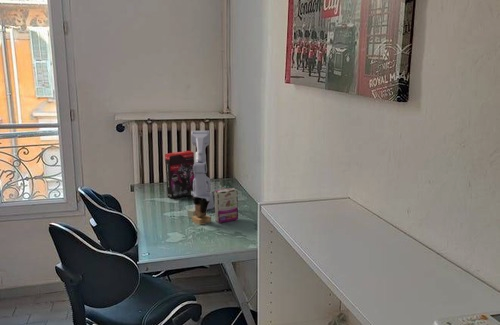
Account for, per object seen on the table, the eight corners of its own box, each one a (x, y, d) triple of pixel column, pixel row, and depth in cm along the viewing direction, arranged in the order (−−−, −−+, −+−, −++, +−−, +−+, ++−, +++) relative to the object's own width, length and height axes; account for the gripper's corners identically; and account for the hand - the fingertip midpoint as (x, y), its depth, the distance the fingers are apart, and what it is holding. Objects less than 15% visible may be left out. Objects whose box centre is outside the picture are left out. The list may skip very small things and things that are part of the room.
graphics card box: (171, 199, 260) (169, 155, 254) (166, 197, 265) (164, 153, 259) (196, 194, 270) (194, 151, 265) (190, 192, 276) (188, 150, 270)
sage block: (192, 215, 232) (192, 208, 232) (198, 216, 230) (198, 209, 229) (187, 217, 229) (187, 210, 228) (193, 218, 227) (193, 211, 226)
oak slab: (203, 219, 227) (203, 213, 227) (211, 222, 222) (210, 217, 222) (192, 221, 223) (191, 216, 222) (199, 225, 218) (199, 219, 217)
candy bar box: (234, 217, 229) (233, 187, 225) (238, 220, 225) (238, 189, 221) (214, 220, 224) (214, 190, 220) (218, 223, 219) (217, 192, 216)
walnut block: (201, 213, 224) (201, 203, 223) (206, 215, 221) (206, 204, 220) (195, 214, 222) (195, 204, 221) (199, 216, 219) (199, 206, 218)
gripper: (185, 184, 221) (186, 209, 224) (202, 190, 211) (203, 216, 214) (197, 182, 226) (197, 206, 229) (214, 187, 215) (214, 213, 218)
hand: (201, 211), depth 221 cm, fingers closed on walnut block, 4 cm apart
